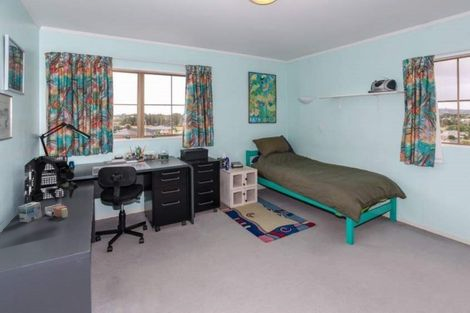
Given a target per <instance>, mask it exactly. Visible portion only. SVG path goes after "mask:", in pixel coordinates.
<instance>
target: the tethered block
mask: <svg viewBox="0 0 470 313" xmlns="http://www.w3.org/2000/svg"><path fill="white" fill-rule="evenodd" d="M67 207H68V206H65V205H62V204H61V206H58V207H54V212H53V216H55V217H56V218H60V217H61V218H63V219H65V218H68V217H69V211H68V208H67Z"/></svg>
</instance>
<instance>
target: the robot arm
mask: <svg viewBox="0 0 470 313" xmlns="http://www.w3.org/2000/svg"><path fill="white" fill-rule="evenodd" d="M47 165H49V166H51V167H52V168H53V169H54V170H53V172H54V173H55V178H56V179H55V182H56V186H55V187H53V186H51V187H46V189H45V193H46V194H49V195H50V196H51V197H52V198H53V200H54V202H55V203H57V202H58V199H57V192H58V191H63V192H64V191H65V192H66V191H68V196H69V199H72V196H73V193H74V191H75V190H77V189H79V184H77V183H76V182H73V181H71V180H73V179H74V177H75V172H73V171H72V170H71V167H70V166H69V165H68V162H67V161H66V160H65V159H56V158H53V157H51V156H48V155H45V154H44V155H39V156H38V157H37V158H35V159H34V160H32V162H31V163H30V166H31V170H32V171H33V180H32V181H33V182H32V189H31V191H30V192H29V196H28V197H27V199H26V202H27V204H28V203H31V202H40V205H41V204H42V203H41V202H42V201H44V197H45V193H44V192H43V190H42V184H43V183H42V182H43V180H42V178H43V172H45V169H46V167H47ZM68 181H70V182H68ZM56 191H57V192H56ZM42 208H43V206H41V211H42Z"/></svg>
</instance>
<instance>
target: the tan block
mask: <svg viewBox="0 0 470 313" xmlns="http://www.w3.org/2000/svg"><path fill="white" fill-rule="evenodd" d="M58 206H62V203H57V204H53V205H49V206H45V207H44V214H45V215H47V216H49V217H51V216H53V214H52V213H54V207H58Z"/></svg>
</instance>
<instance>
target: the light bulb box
mask: <svg viewBox="0 0 470 313" xmlns="http://www.w3.org/2000/svg"><path fill="white" fill-rule="evenodd" d="M40 204H41V201H40V202H31V203H28V202H27V203H25V204H22V205H19V206H18V214H19V221H20V222H21V223H22V222H23V223H30V222H32V221H34V220H35V221H36V220H38V219H40V218H43V216H42V210H41V207H42V206H41V205H40Z"/></svg>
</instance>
